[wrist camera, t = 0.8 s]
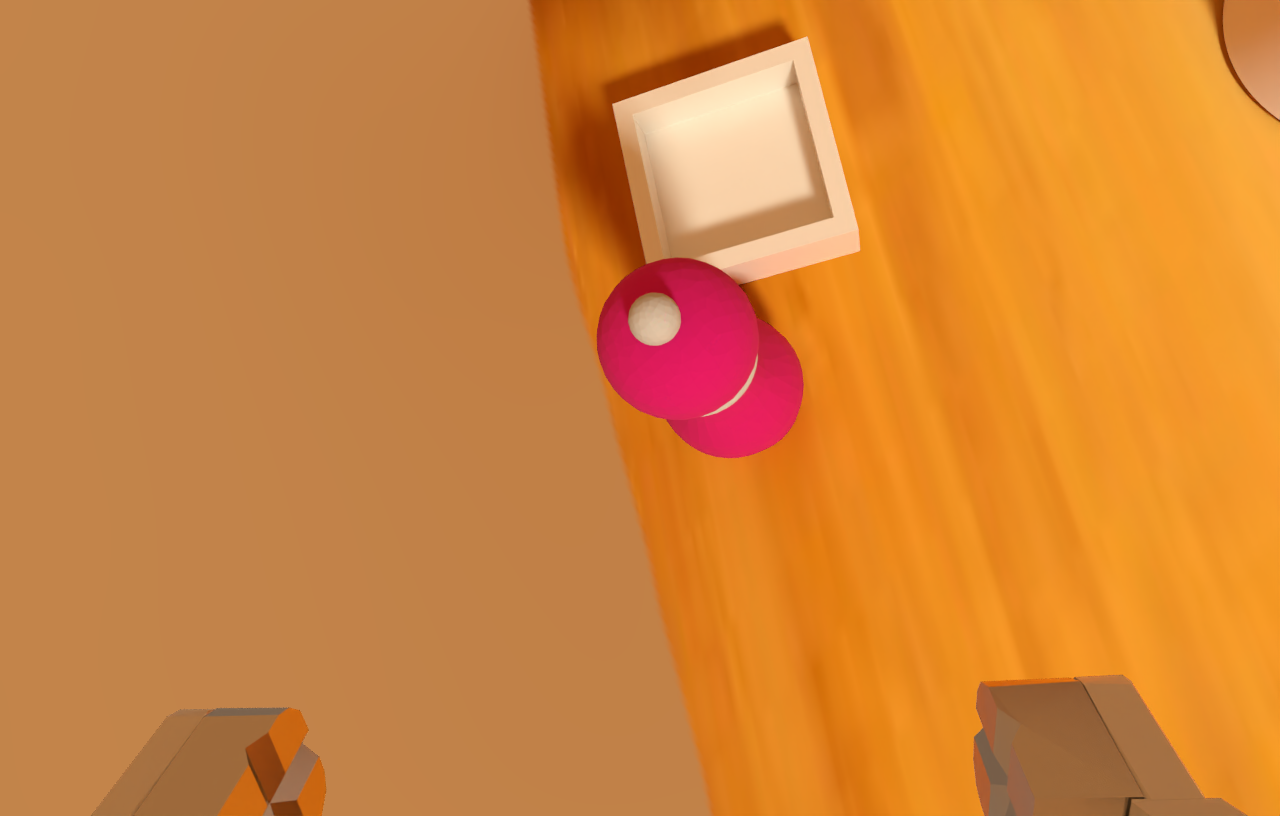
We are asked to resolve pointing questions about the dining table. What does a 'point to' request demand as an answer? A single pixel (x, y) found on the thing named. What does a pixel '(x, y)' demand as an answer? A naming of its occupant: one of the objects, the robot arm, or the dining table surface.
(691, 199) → the mill holder
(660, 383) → the pepper mill
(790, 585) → the dining table surface
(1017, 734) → the robot arm
